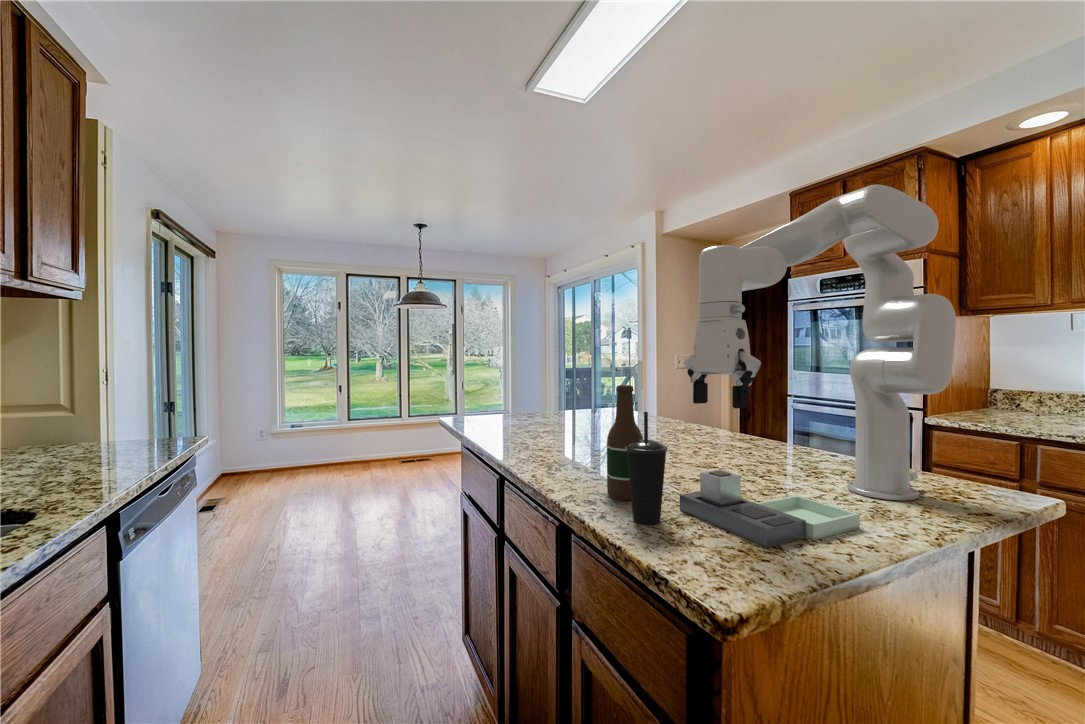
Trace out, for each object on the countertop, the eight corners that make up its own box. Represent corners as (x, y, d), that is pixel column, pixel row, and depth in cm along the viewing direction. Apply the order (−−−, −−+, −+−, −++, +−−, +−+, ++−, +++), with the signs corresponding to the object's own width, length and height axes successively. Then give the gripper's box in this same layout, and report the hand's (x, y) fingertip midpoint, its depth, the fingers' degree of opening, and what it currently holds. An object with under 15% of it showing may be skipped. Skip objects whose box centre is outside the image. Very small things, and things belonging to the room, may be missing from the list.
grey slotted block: (714, 503, 94) (714, 488, 94) (805, 538, 76) (805, 519, 76) (679, 509, 90) (679, 494, 90) (767, 548, 72) (766, 528, 72)
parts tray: (796, 508, 91) (796, 495, 91) (859, 528, 80) (859, 514, 80) (752, 517, 86) (752, 503, 86) (813, 540, 75) (813, 524, 75)
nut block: (720, 510, 90) (719, 468, 90) (740, 518, 85) (740, 474, 85) (700, 514, 88) (700, 471, 88) (720, 522, 83) (720, 477, 83)
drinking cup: (640, 510, 90) (639, 408, 90) (675, 520, 84) (675, 411, 84) (617, 520, 84) (616, 412, 84) (653, 531, 79) (652, 415, 79)
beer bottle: (644, 503, 95) (643, 386, 94) (606, 500, 96) (605, 386, 96) (643, 492, 102) (642, 384, 102) (608, 490, 104) (607, 384, 104)
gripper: (774, 310, 80) (773, 409, 80) (701, 318, 95) (700, 401, 95) (742, 308, 76) (742, 411, 77) (672, 317, 92) (672, 402, 92)
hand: (719, 405), depth 86 cm, fingers open, 9 cm apart
